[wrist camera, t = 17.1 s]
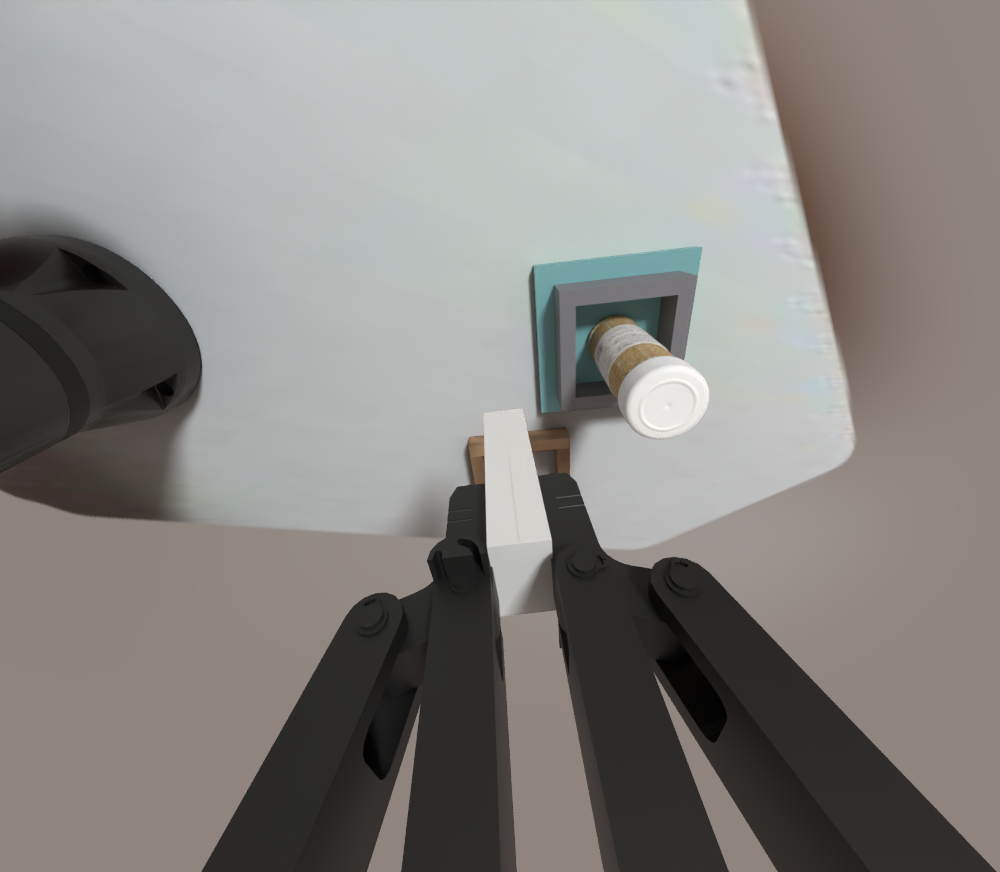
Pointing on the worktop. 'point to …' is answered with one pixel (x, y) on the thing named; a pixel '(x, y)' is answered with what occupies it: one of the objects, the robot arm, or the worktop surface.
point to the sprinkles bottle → (647, 379)
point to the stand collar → (538, 442)
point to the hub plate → (599, 294)
